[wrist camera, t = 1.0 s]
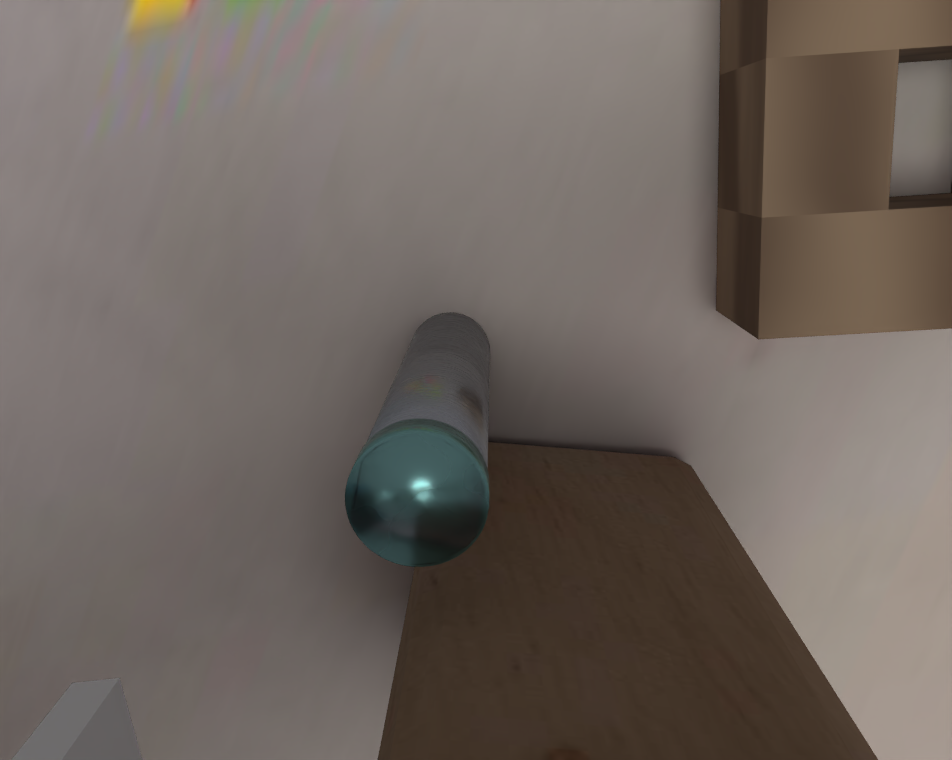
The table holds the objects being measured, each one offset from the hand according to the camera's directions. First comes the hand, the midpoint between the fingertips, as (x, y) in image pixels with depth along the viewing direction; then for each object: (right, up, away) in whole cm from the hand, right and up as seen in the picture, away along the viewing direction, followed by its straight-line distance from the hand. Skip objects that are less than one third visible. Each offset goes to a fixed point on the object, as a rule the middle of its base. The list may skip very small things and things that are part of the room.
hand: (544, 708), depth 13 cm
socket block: (+13, +14, +16) cm, 25 cm away
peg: (-2, +6, +18) cm, 19 cm away
